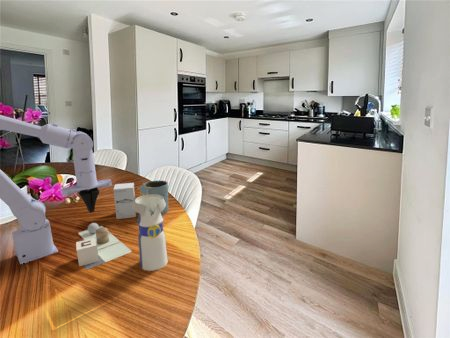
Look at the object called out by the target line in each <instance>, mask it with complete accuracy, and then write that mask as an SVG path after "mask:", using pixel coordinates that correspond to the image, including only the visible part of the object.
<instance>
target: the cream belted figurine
mask: <svg viewBox="0 0 450 338" xmlns="http://www.w3.org/2000/svg"><path fill="white" fill-rule="evenodd" d="M144 183H145V182H143V183H142V184H141V186H140V187H136V189H137V190H138V191H140V192H139V195H140V196H137V197H135V202H134V205H133V209H134V211H135V212H136V214H138V217H137V220H136V224H137V225H138V231H139V232H138V239H137V240H138V241H137V242H138V253H139V254H138V255H139V267H140V269H142V270H144V271H151V272H152V271H157V270H160V269H163V268H164V267H165V266H166V265H167V264H168V260H169V259H168V253H167V242H166V234H165V230H164V227H163V226H164V223H163V221H164V216H163V214H162V215H161V212H162V211H163V210H164V209H165V207H166V203H165V200H164V198H163V197H162V196H161V195H156V194H150V195H148V192H147V191H148V190H149V189H150V188H151V187H145V185H144ZM144 194H146V195H144Z"/></svg>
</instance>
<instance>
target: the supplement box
mask: <svg viewBox="0 0 450 338" xmlns="http://www.w3.org/2000/svg"><path fill="white" fill-rule="evenodd" d="M113 198H114V208H115V209H114V210H115V216H116V217H115V219H116V220H121V219H129V218H136V216H137V212H135V211H134V209H133V205H134V202H135V199H136V193H135V183H134V182H127V183H115V184H114V187H113Z"/></svg>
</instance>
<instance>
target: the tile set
mask: <svg viewBox="0 0 450 338" xmlns="http://www.w3.org/2000/svg"><path fill="white" fill-rule="evenodd" d="M98 226H99V229H100V228H105V227H104V226H103V225H98ZM77 233H78V235H79V236H80V237H81V238H82V239H83V241H84V240H88V239H92V238H95V240H96V245H97V251H98V255H99V256H100V257H101V258H102V259H103V260H104V261H105V263H108V262H110V261H112V260H116V259H118V258H120V257H122V256H123V257H124V256H126V255H127V254H130V253H132V252H133V250H131V249H130V248H129V247H128V246H126V245H125V244H124V243H123V242H122V241H121V240H119V239H118V238H117V237H116V236H114V235H113V234H112V233H111V232H110V231H109V230H108V235H109V242H107V243H105V244H97V238H96V233H90V232H89V231H88V229H85V230H83V231H79V232H77Z"/></svg>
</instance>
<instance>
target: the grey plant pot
mask: <svg viewBox="0 0 450 338" xmlns="http://www.w3.org/2000/svg"><path fill="white" fill-rule="evenodd" d="M143 183H144V185H145V187H151V188H150V189H149V190H148V191H147V192H148V195H150V194H156V195H161V196H162V197H163V198H164V200H165V203H166V207H165V209H164V210H163V211H162V212H161V215H162V216H163V215H165V214H167V213H168V212H169V182H168V181H166V180H152V181H151V180H150V181H146V182H143ZM144 195H146V194H143V196H144Z"/></svg>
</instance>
